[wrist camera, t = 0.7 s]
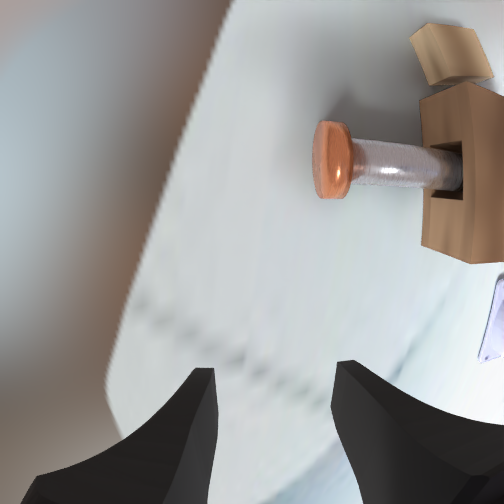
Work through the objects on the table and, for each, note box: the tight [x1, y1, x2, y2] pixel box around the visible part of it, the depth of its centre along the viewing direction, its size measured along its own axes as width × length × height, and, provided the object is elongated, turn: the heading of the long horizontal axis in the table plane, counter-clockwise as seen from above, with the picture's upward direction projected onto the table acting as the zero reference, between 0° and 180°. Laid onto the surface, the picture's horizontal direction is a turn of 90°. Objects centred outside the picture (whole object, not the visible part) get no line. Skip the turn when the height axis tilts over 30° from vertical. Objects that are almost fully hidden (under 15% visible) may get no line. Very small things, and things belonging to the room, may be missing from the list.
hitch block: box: [419, 81, 504, 264], centre depth 15 cm, size 6×10×5 cm, turn 1°
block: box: [409, 23, 494, 86], centre depth 14 cm, size 5×4×3 cm
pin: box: [312, 121, 463, 199], centre depth 15 cm, size 12×4×4 cm, turn 91°
